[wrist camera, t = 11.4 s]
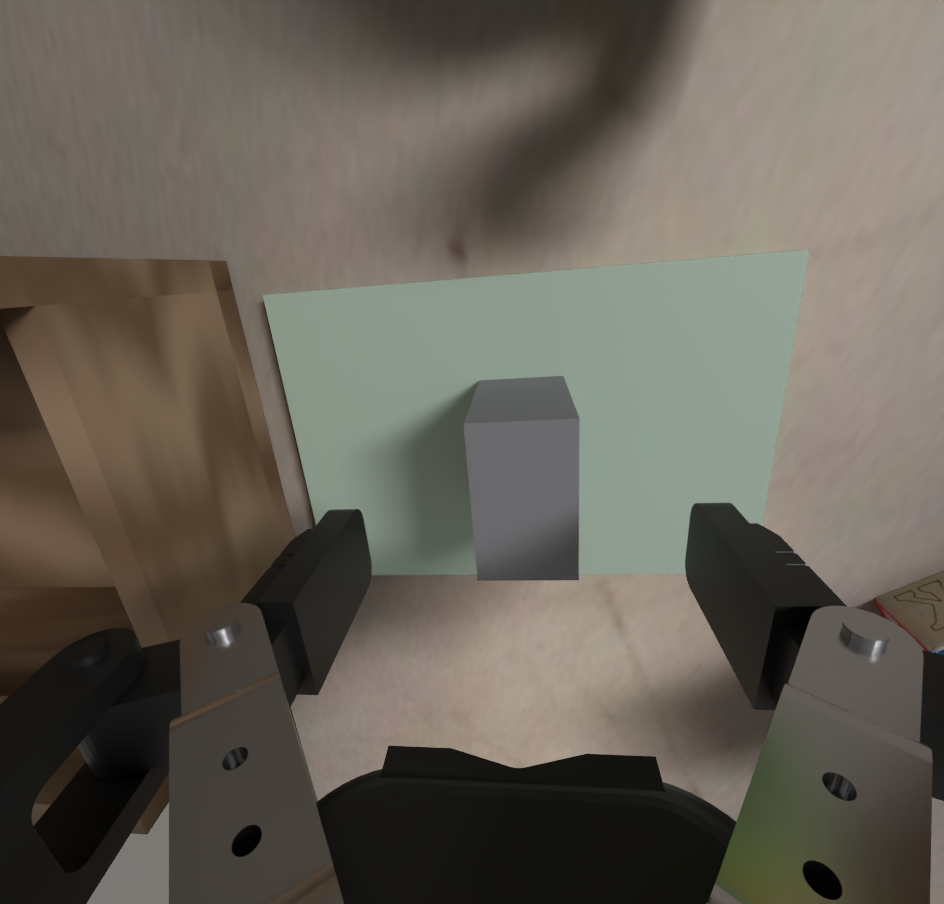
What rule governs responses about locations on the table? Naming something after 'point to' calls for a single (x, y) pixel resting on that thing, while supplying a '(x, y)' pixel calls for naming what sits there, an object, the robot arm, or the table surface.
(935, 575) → the stack of blocks
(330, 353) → the lid
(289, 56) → the table surface
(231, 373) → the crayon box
